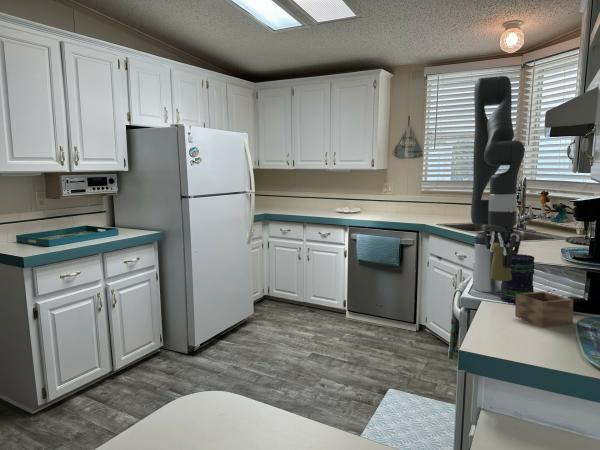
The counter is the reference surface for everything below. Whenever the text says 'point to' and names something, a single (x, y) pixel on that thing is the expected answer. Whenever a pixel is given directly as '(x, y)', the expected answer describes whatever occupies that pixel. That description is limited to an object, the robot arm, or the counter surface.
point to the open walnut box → (544, 309)
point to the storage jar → (518, 278)
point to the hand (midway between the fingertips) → (501, 265)
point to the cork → (499, 265)
